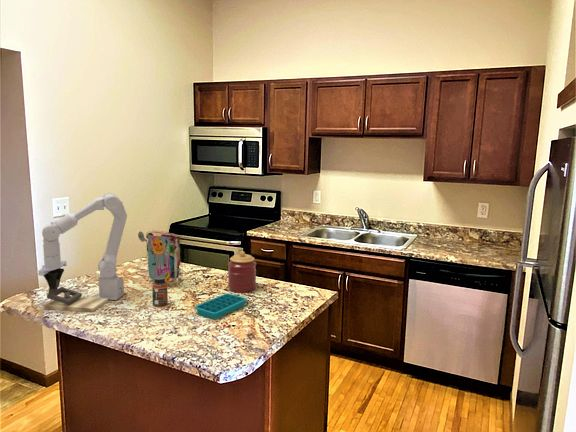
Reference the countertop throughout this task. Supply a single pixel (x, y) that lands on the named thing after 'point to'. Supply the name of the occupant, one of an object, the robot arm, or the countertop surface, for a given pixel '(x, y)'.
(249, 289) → the canister
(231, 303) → the ice cube tray
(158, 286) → the supplement bottle
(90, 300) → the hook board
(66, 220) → the robot arm
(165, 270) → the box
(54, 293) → the dark grey frame stand
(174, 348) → the countertop surface
